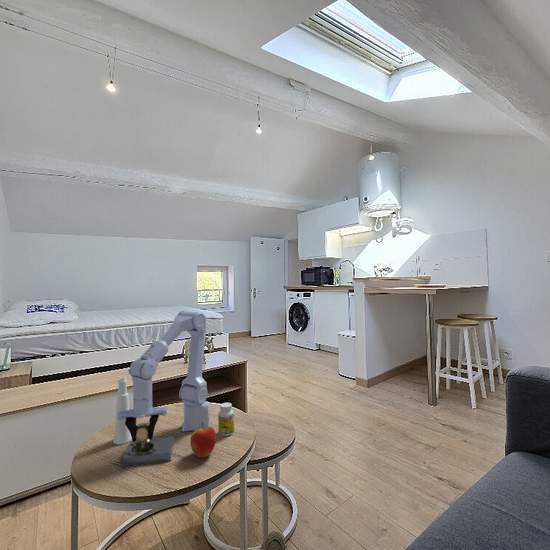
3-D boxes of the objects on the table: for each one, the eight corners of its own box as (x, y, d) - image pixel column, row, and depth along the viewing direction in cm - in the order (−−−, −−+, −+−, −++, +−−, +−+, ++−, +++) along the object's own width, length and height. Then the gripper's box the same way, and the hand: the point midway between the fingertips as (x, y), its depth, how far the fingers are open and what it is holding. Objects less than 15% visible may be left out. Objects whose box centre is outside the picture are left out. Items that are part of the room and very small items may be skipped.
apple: (193, 465, 95) (192, 431, 96) (188, 451, 103) (188, 421, 103) (219, 458, 99) (218, 426, 99) (212, 445, 106) (212, 416, 106)
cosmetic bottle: (109, 442, 109) (108, 378, 109) (124, 434, 115) (123, 373, 115) (121, 446, 106) (120, 381, 107) (135, 438, 112) (135, 376, 112)
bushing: (151, 440, 104) (151, 421, 104) (148, 447, 99) (148, 428, 99) (137, 441, 103) (137, 423, 103) (133, 449, 98) (133, 429, 98)
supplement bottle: (236, 430, 117) (236, 402, 117) (230, 437, 112) (229, 408, 112) (222, 428, 119) (222, 400, 119) (215, 435, 113) (215, 406, 113)
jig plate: (173, 444, 108) (173, 436, 108) (170, 460, 98) (170, 452, 98) (130, 448, 105) (130, 441, 105) (121, 466, 95) (121, 458, 95)
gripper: (114, 403, 96) (114, 448, 95) (164, 399, 99) (164, 443, 98) (120, 395, 102) (121, 437, 102) (167, 391, 105) (167, 432, 105)
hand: (142, 439), depth 101 cm, fingers closed on bushing, 4 cm apart
